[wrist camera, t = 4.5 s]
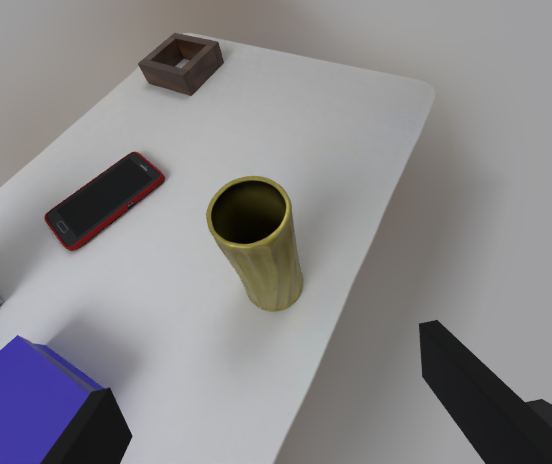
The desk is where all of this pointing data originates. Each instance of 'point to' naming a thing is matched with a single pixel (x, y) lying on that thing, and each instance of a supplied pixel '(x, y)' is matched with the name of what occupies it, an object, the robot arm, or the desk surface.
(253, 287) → the vase
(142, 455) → the desk surface
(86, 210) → the cell phone
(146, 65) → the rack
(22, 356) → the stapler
